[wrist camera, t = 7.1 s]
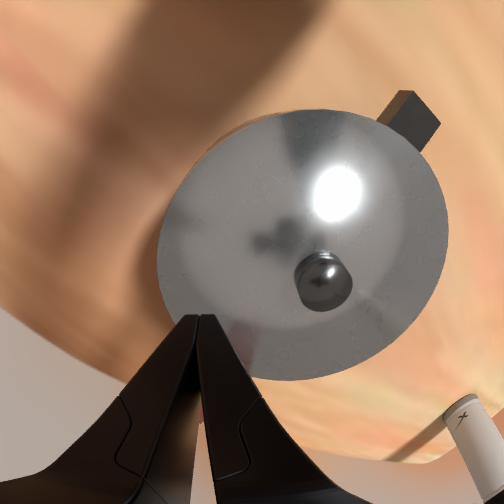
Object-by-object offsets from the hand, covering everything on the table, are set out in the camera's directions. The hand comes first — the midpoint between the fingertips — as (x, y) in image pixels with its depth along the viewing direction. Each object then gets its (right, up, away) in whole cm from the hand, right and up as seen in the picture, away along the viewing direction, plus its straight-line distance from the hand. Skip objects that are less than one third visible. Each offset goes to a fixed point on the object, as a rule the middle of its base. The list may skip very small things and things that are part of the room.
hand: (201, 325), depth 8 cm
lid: (+3, -1, +8) cm, 8 cm away
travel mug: (+32, -21, +27) cm, 47 cm away
